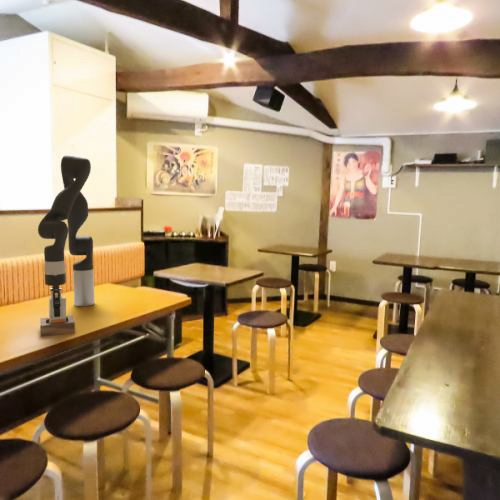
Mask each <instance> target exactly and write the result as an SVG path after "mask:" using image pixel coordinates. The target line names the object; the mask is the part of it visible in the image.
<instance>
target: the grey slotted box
mask: <svg viewBox="0 0 500 500" xmlns="http://www.w3.org/2000/svg"><path fill="white" fill-rule="evenodd" d="M75 323H76V322H75V319H74V315H73V314H72V315H66V322H57V323H49V317H43V318H40V321H39V327H40V328H39V329H40V337H47V336H56V335H65V334H75V333H76V328H75V327H76V326H75V325H76V324H75Z"/></svg>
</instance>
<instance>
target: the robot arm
mask: <svg viewBox="0 0 500 500" xmlns="http://www.w3.org/2000/svg"><path fill="white" fill-rule="evenodd" d="M91 166H92V165H91V161H90V160H89V158H86V157H81V156H75V155H70V154H68V155H64V156H63V157H62V158H61V161H60V173H61V177H62V178H61V179H62V183H63V187H64V188H63V189H62V190H60V192H58V193H57V195H56V196H55V198H54V200H53V202H52V204H51V207H50V210H49V211H48V212H47V213H46V214H45V215H44V217H43V218H42V219H41V220H40V222H39V224H38V227H37V233H38V235H39V237H40V238H42V239H45V240H54V242H53V244H50V245H49V244H48V245H46V246H45V247H44V251H43V255H44V256H43V257H44V266H43V267H44V268H43V270H44V272H43V273H44V284H45V286H49V287H51V288H50V295H51V296H50V297H52V302H53V308H54V317H60V306H61V304H60V301H61V296H62V294H63V292H62V287H60V286H63V285H65V284H66V283H67V271H66V270H67V269H66V262H65V247H66V243H67V239H68V251H69V254H70V255H71V256H85V258H83V259H82V260H79V261H77V262H75V263H73V264H72V280H73V299H74V300H73V301H74V302H73V303H74V306H75V307H88V306H89V307H90V306H92V305H95V281H94V280H95V279H94V275H95V274H94V239H93V238H92V236H91V235H77V233H78V231H79V230H80V228H82V226H83V225H84V224H85V222H86V220H87V219H88V217H89V203H88V200H87V199H86V197H85V196H84V194H83V193H82V189H83V187H84V185H85V184H86V183H87V181H88V178H89V176H90V174H91V169H92V168H91ZM66 220H67V223H66V222H65V221H66ZM55 302H59V304H55Z"/></svg>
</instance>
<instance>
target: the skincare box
mask: <svg viewBox="0 0 500 500" xmlns="http://www.w3.org/2000/svg"><path fill="white" fill-rule="evenodd" d="M48 300H49V301H48V314H49V315H48V318H49V323H57V322H66V316H67V296H65V295H64V296H63V295H61V301H60V304H61V306H60V317H54V308H53V302H52V297H51V296H49V297H48ZM55 304H59V302H55Z"/></svg>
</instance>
